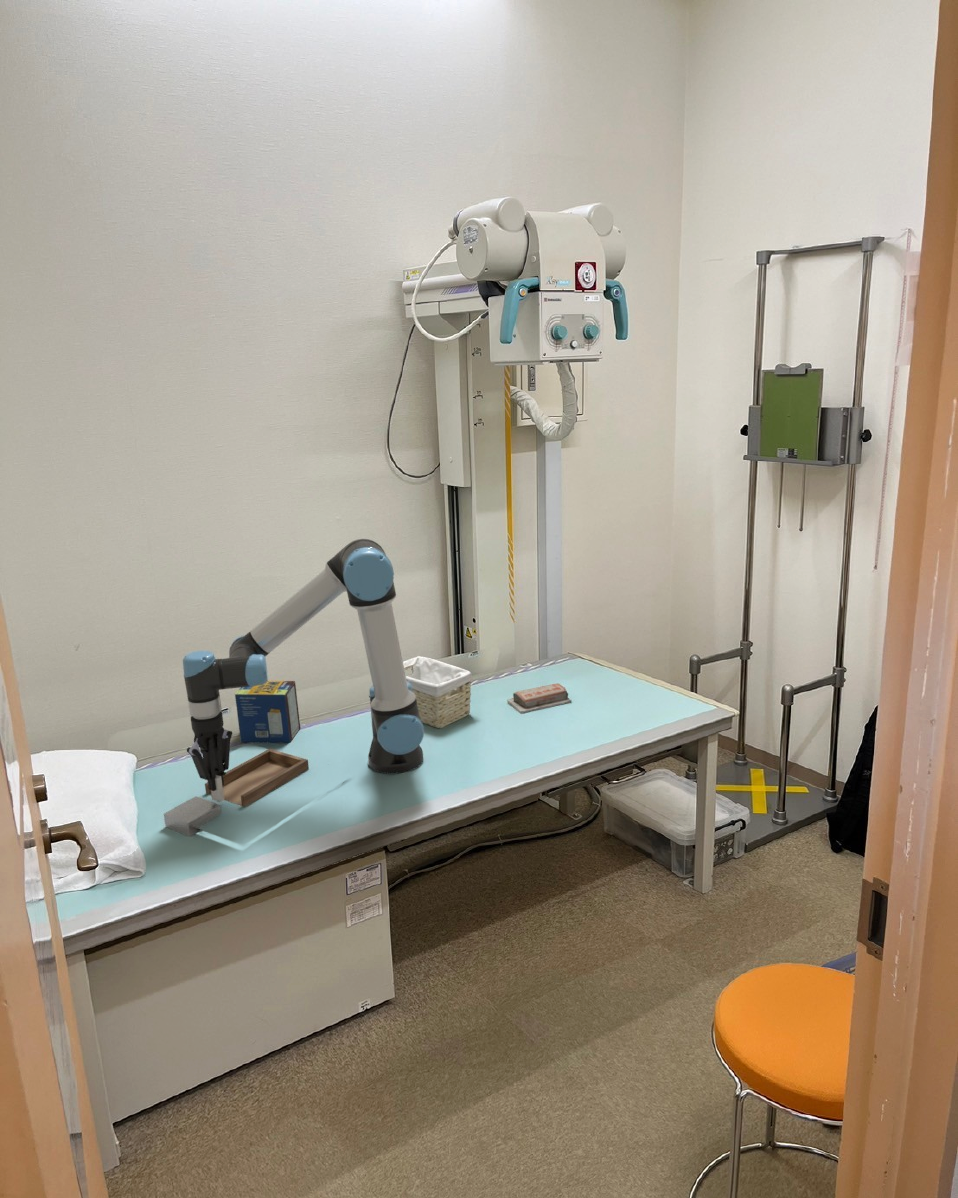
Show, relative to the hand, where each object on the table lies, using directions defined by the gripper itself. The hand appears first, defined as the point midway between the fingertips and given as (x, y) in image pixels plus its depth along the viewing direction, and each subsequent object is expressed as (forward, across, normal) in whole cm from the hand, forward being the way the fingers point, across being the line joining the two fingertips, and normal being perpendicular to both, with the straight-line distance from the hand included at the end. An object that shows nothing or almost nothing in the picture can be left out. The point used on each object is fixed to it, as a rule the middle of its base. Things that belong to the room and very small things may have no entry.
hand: (218, 799), depth 231 cm
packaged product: (+4, -96, +40) cm, 104 cm away
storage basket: (+3, -74, +14) cm, 75 cm away
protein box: (+3, -39, -20) cm, 44 cm away
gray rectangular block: (+3, +8, 0) cm, 8 cm away
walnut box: (+3, -13, 0) cm, 14 cm away
